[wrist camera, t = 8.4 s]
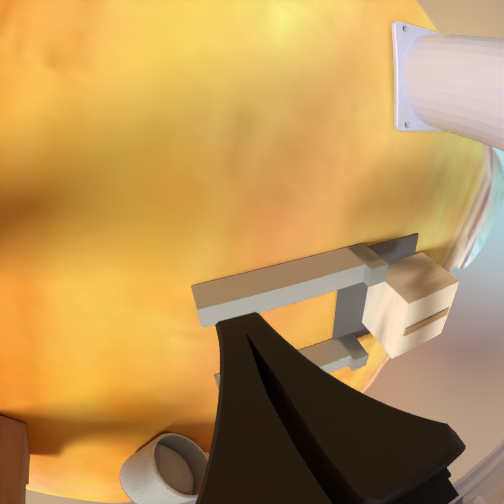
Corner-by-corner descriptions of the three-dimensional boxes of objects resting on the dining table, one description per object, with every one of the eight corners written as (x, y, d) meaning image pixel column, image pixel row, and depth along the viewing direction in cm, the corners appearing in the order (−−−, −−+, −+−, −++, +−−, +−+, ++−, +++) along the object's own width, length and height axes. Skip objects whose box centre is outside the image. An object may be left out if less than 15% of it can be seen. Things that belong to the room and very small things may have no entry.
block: (421, 251, 26) (460, 281, 22) (409, 303, 29) (441, 334, 25) (370, 268, 25) (410, 305, 20) (361, 322, 28) (393, 359, 24)
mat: (416, 233, 25) (418, 234, 25) (397, 319, 30) (398, 320, 30) (340, 254, 23) (342, 255, 23) (331, 345, 28) (332, 347, 28)
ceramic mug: (112, 453, 28) (120, 512, 22) (146, 424, 27) (159, 493, 20) (185, 467, 34) (199, 517, 28) (225, 441, 32) (245, 497, 26)
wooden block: (30, 455, 25) (36, 584, 10) (-3, 445, 23) (-4, 573, 8) (26, 422, 22) (28, 584, 7) (-12, 409, 20) (-22, 568, 5)
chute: (363, 242, 23) (388, 263, 21) (348, 342, 29) (365, 365, 26) (191, 285, 21) (199, 317, 18) (216, 384, 26) (226, 413, 24)
